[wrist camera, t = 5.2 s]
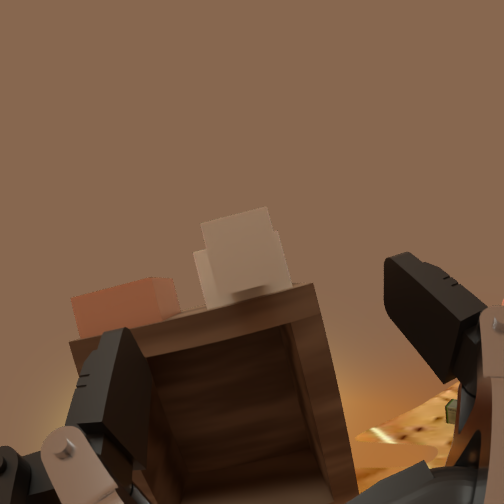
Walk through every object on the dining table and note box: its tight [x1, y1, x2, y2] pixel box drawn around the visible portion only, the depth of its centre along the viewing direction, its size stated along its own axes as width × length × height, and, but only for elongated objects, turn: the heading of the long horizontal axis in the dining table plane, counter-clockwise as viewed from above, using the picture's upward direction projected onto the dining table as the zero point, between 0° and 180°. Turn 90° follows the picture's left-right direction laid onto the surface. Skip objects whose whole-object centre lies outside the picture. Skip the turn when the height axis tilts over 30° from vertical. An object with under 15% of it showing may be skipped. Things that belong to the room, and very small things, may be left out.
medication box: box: [445, 399, 457, 424], centre depth 38 cm, size 12×3×4 cm, turn 25°
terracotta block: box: [71, 277, 181, 339], centre depth 24 cm, size 7×6×3 cm
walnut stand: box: [69, 283, 359, 504], centre depth 24 cm, size 12×17×32 cm
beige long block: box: [193, 207, 293, 309], centre depth 21 cm, size 20×6×4 cm, turn 2°
